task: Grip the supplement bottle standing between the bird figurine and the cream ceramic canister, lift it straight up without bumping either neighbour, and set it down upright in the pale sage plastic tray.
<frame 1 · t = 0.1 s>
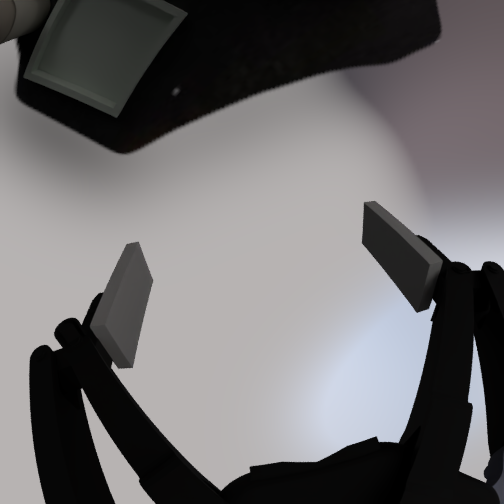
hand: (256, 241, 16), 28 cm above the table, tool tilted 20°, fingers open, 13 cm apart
cream canister: (30, 12, 17), on the table
sage tray: (101, 38, 24), on the table
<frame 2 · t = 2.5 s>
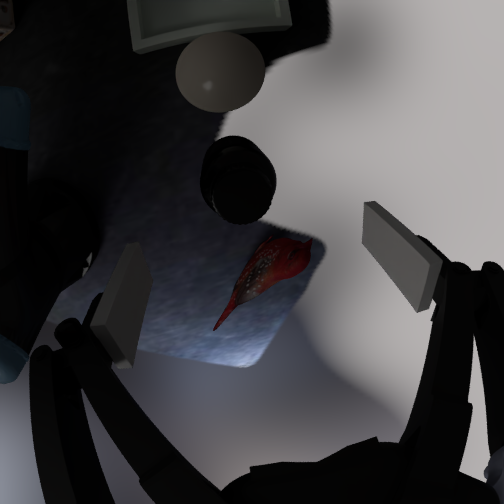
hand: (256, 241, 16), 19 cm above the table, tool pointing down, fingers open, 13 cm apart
decorative bird figurine: (249, 257, 39), on the table
cream canister: (219, 78, 27), on the table
supplement bottle: (232, 162, 32), on the table
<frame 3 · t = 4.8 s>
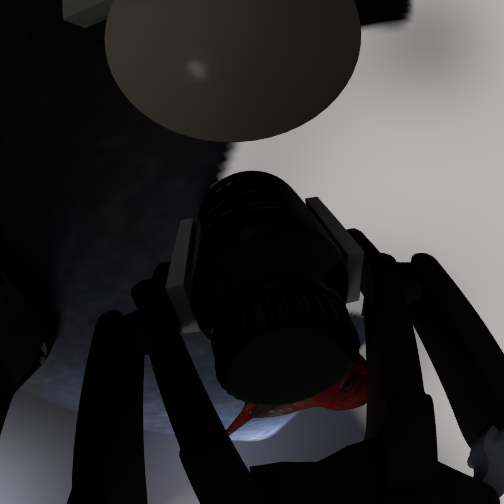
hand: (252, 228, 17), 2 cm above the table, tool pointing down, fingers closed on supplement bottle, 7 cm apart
decorative bird figurine: (270, 346, 26), on the table
cream canister: (225, 62, 14), on the table
supplement bottle: (249, 216, 19), on the table, touching gripper
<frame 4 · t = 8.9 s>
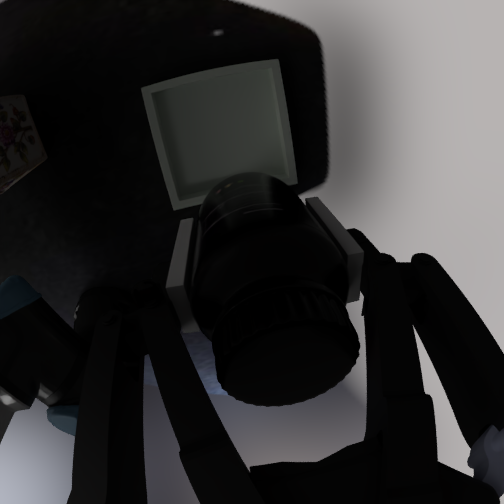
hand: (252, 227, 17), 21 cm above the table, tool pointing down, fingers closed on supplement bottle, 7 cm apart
decorative jar: (13, 143, 29), on the table
supplement bottle: (249, 217, 19), point 20 cm above the table, touching gripper
sage tray: (221, 131, 34), on the table
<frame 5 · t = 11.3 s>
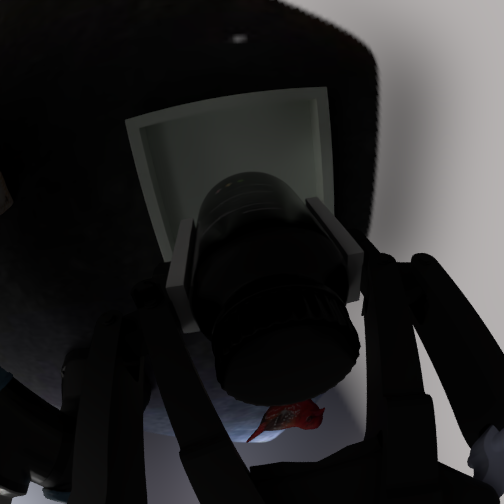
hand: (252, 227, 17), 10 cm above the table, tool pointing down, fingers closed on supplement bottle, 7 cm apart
decorative bird figurine: (274, 392, 45), on the table
supplement bottle: (249, 217, 19), point 8 cm above the table, touching gripper
sage tray: (238, 181, 26), on the table
when the fingers open (4 cm above the table, at t = 13.2 s): supplement bottle drops 2 cm, resting on sage tray.
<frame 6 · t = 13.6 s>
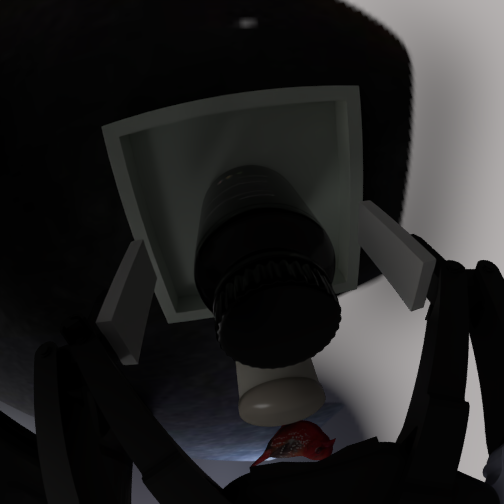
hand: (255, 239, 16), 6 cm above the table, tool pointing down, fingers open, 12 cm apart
decorative bird figurine: (280, 418, 40), on the table
cream canister: (265, 324, 28), on the table
supplement bottle: (249, 206, 21), point 1 cm above the table, touching sage tray
sage tray: (245, 201, 21), on the table
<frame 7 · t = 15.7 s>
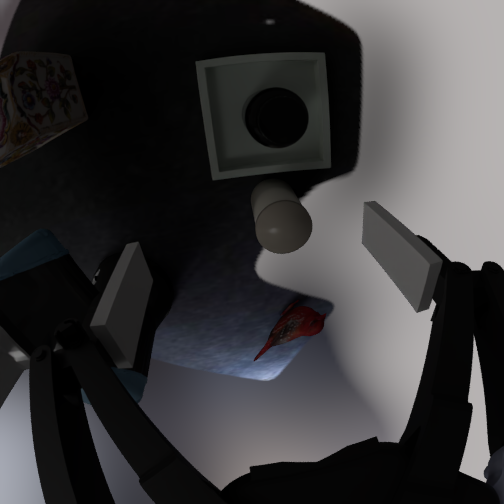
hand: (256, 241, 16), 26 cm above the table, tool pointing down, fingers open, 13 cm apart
decorative bird figurine: (280, 312, 55), on the table
cream canister: (272, 199, 42), on the table
decorative jar: (51, 102, 30), on the table
supplement bottle: (267, 113, 35), point 1 cm above the table, touching sage tray
sage tray: (264, 111, 35), on the table
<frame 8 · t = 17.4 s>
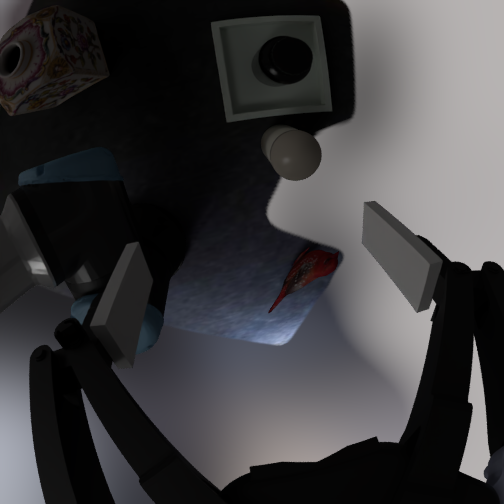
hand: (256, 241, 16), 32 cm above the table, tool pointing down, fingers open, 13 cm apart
decorative bird figurine: (292, 262, 56), on the table
cream canister: (281, 143, 44), on the table
decorative jar: (73, 63, 32), on the table
supplement bottle: (273, 66, 36), point 1 cm above the table, touching sage tray
sage tray: (270, 66, 37), on the table
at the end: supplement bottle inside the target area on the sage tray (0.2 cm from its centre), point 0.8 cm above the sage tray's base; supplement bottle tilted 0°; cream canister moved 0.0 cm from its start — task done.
